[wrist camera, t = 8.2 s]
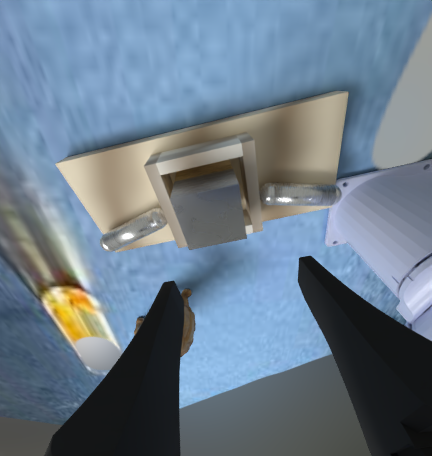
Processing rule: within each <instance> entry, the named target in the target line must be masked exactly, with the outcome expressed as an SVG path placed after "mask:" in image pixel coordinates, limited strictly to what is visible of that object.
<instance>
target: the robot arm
mask: <svg viewBox="0 0 432 456" xmlns="http://www.w3.org/2000/svg"><path fill="white" fill-rule="evenodd" d="M425 165H426V166H425ZM424 166H425V167H424ZM345 182H346V184H345V185H343V184H344V183H345ZM335 185H336V186H338V187H339V188H340V189H341V191H342V197H341V199H340V201H339V202H338V203H337V204H335V205H332V207H330V208H329V215H328V222H327V229H326V237H325V244H326V245H327V246H335V245H340V244H345V243H348V244H349V245H350V246H351V247H352V248H353V249H354V250H355V251H356V253H357V254H358V255H359V256H360V257H361V258H362V259H363V260H364V261H365V262H366V263H367V265H368V266H369V267H370V268H371V269H372V270H373V271H374V272H375V273H376V274H377V275H378V277H379V278H380V279H381V280H382V281H383V282H384V283H385V284H386V285H387V286H388V287H389V289H390V290H391V291H392V292H393V293H394V294H395V295H396V296H397V297H398V298H399V299H400V303H399V305H398V306H397V307H396V309H397V310H398V311H399V312H400V314H401V315H402V316H403V317H404V318H405V319H406V321H407V322H406V324H405V326H404V325H402V324H401V323H399V322H398V321H396V320H394V319H393V318H391V317H389V316H388V315H386V314H385V313H383V312H382V311H380V310H379V309H377V308H376V307H374V306H373V305H371V304H370V303H368V302H367V301H366V300H364V299H363V298H361V297H360V296H359V295H357V294H356V293H355V292H353V291H352V290H351V289H349V288H348V287H347V286H346V285H344V284H343V283H342V282H341V281H339V280H338V279H337V278H336V277H335V276H333V275H332V274H331V273H330V272H329V271H327V270H326V269H325V268H324V267H323V266H322V265H321V264H320V263H318V262H317V261H316V260H315V259H314V258H313V257H312V256H306V257H300V258H299V271H298V283H299V286H300V288H301V291H302V293H303V296H304V298H305V300H306V302H307V304H308V306H309V308H310V310H311V312H312V314H313V316H314V318H315V319H316V321H317V323H318V325H319V327H320V329H321V331H322V333H323V335H324V336H325V338H326V341H327V343H328V345H329V347H330V349H331V352H332V354H333V356H334V359H335V361H336V363H337V366H338V368H339V371H340V373H341V376H342V378H343V381H344V383H345V386H346V388H347V391H348V393H349V396H350V398H351V401H352V404H353V406H354V409H355V411H356V415H357V417H358V420H359V423H360V426H361V428H362V431H363V434H364V437H365V439H366V442H367V445H368V448H369V451H370V453H371V455H372V456H432V159H429V160H424V161H420V162H415V163H411V164H406V165H401V166H397V167H392V168H388V169H383V170H378V171H374V172H369V173H365V174H360V175H355V176H351V177H346V178H342V179H338V180H336V184H335ZM183 328H184V300H183V298H182V296H181V294H180V292H179V290H178V288H177V286H176V284H175V281H169V282H164V283H163V284H162V287H161V289H160V291H159V293H158V295H157V297H156V299H155V301H154V302H153V304H152V306H151V308H150V310H149V312H148V314H147V315H146V317H145V319H144V321H143V323H142V324H141V326H140V328H139V329H138V331H137V333H136V334H135V336H134V337H133V339H132V341H131V342H130V344H129V345H128V347H127V348H126V350H125V351H124V352H123V354H122V355H121V357H120V358H119V359H118V361H117V362H116V364H115V365H114V366H113V367H112V369H111V370H110V371H109V373H108V374H107V375H106V377H105V378H104V379H103V380H102V382H101V383H100V384H99V385H98V386H97V387H96V389H95V390H94V391H93V392H92V393H91V395H90V396H89V397H88V398H87V399H86V401H85V402H84V403H83V404H82V405H81V406H80V407H79V408H78V409H77V411H76V412H75V413H74V414H73V415H72V416H71V417H70V418H69V419H68V420H67V421H66V422H65V423H64V425H63V426H62V427H61V428H60V429H59V430H58V431H57V432H56V433H55V434H54V435H53V437H52V439H51V441H50V443H49V446H48V448H47V450H46V453H45V455H44V456H180V431H179V369H180V356H181V347H182V337H183Z"/></svg>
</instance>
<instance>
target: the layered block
mask: <svg viewBox="0 0 432 456" xmlns="http://www.w3.org/2000/svg"><path fill="white" fill-rule="evenodd" d="M170 201H171V203H172V206H173V209H174V211H175V214H176V216H177V219H178V222H179V224H180V227H181V230H182V232H183V235H184V237H185V240H186V243H187V245H188V248H189V250H192V249H197V248H202V247H207V246H212V245H217V244H222V243H227V242H232V241H237V240H242V239H247V235H246V229H245V222H244V215H243V208H242V202H241V195H240V188H239V183H238V180H237V178H236V175H235V173H234V170H233V167H232V165H231V162H230V160H229V159H228V160H224V161H220V162H215V163H211V164H207V165H202V166H198V167H194V168H190V169H185V170H181V171H177V173H176V177H175V181H174V185H173V189H172V193H171V197H170Z"/></svg>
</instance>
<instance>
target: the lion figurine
mask: <svg viewBox="0 0 432 456" xmlns="http://www.w3.org/2000/svg"><path fill="white" fill-rule="evenodd" d="M181 296H182V298H183V300H184V328H183V337H182V347H181V356H180V357H182V356H183V355H184V354H185V353H187V352H188V350H189V348H190V346H191V344H192V343H193V334H194V331H195V315H194V313H193V312H192V311H191V308H190V307H189V303H188V297H189V296H191V290H190V289H184V290H183V291H182V293H181ZM143 321H144V318H141V317H140V318H137V321H136V329H135V331H134V334H136V333H137V331H138V329H139V328H140V326H141V324H142V323H143Z"/></svg>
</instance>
